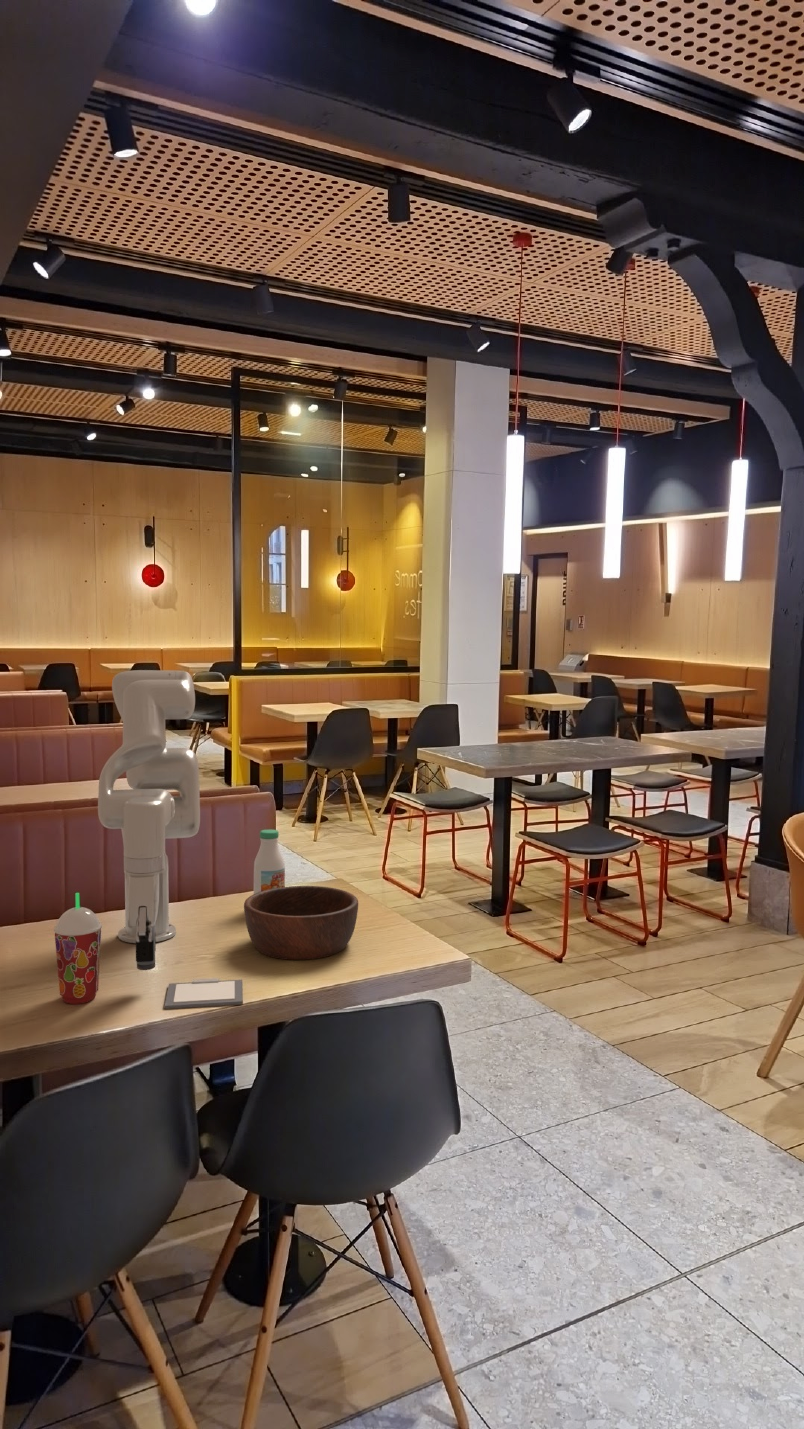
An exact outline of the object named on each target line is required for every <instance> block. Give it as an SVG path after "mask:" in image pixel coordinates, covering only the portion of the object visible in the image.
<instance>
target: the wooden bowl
mask: <svg viewBox="0 0 804 1429" xmlns="http://www.w3.org/2000/svg"><path fill="white" fill-rule="evenodd" d="M243 910H244V911H243V912H244V918H245V923H246V924H245V925H246V929H247V934H248V935H249V938H250V941H251V943H252V944H253V946H254V948H256V950H257V951H259V952H260V953H261V954H263V955H266V956H267V957H271V958H274V959H275V958H276V959H281V960H293V961H303V960H304V961H305V960H314V959H322V958H326V957H330V956H333V955H336V954H338V953H339V952H341V951H342V950H344V949H345V948H346V947H347V946H348V944H349V942H350V941H351V939H352V937H353V934H354V932H355V927H356V923H357V919H358V918H357V917H358V913H359V912H358V911H359V900H358V897H357V896H356V895H354V894H353V893H351V892H349V891H346V890H343V889H339V888H335V887H334V888H333V887H329V886H321V885H320V886H318V885H294V886H293V885H291V886H285V887H280V888H274V889H269V890H265V891H261V892H258V893H256V894H254V893H252V895H249V897H247V898H246V899H245V901H244V904H243Z"/></svg>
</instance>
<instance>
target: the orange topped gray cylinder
mask: <svg viewBox="0 0 804 1429" xmlns="http://www.w3.org/2000/svg"><path fill="white" fill-rule="evenodd" d="M146 924H149V922H146ZM146 931H148V932H149V929H146ZM152 940H154V960H153V961H150V962H137V961H136V969H138V970H140V971H149V970H152V969H154V968H155V967H156V951H155V925H154V926H153V927H152Z"/></svg>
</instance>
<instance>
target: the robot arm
mask: <svg viewBox="0 0 804 1429" xmlns="http://www.w3.org/2000/svg"><path fill="white" fill-rule="evenodd" d="M111 682H112V683H111V691H112V697H113V700H114V703H115V706H116V708H117V711H118V713H119V716H120V718H121V721H122V743H121V744H122V745H121V746H120V747H119V748H118V749H116V751H114V752H113V753H112V754H111V755H110V756H109V758H108V759H107V761H106V762H105V764H104V766H103V768H102V769H101V772H100V776H99V779H98V795H97V797H98V798H97V814H98V819H99V822H100V824H101V825H102V826H103V827H104V828H107V829H109V830H111V829H112V830H117V829H118V830H119V829H121V830H120V831H121V835H122V836H121V837H122V843H123V873H124V902H125V904H124V905H125V906H124V907H125V909H124V911H125V912H124V918H125V920H124V921H125V922H124V924H125V926H123V927H122V928H121V929H119V930H118V932H117V937H118V939H119V940H121V941H122V942H124V943H125V942H126V943H129V944H135V962H136V963H137V962H150V961H153V960H154V940H152V927H153V926H154V925H155V952H157V951H156V948H157V947H156V943H158V942H163V941H167V940H168V939H171V938H173V937H174V936H175V935H176V933H177V928H176V926H175V925H174V924H171V923H170V915H169V912H170V911H169V909H170V907H169V906H170V903H169V902H170V901H169V898H170V896H169V895H170V894H169V858H168V855H167V852H166V839H183V838H184V839H185V838H186V839H187V838H191V837H195V835H197V834H198V832H199V830H200V825H201V797H200V796H201V795H200V769H199V768H200V767H199V762H198V757H197V755H196V753H195V752H194V751H193V750H192V749H190V748H186V747H172V748H171V747H169V748H168V747H166V746H167V743H166V742H167V740H166V720H187V719H190V718H191V717H192V716H193V714H194V711H195V706H196V693H195V686H194V680H193V677H192V675H191V674H190V673H189V672H187V671H186V670H172V669H171V670H162V669H161V670H159V669H158V670H155V669H153V670H151V669H149V670H148V669H144V670H143V669H139V670H125V671H121V672H118V673H116V674H115V675H114V676H113V678H112V681H111ZM125 772H126V773H125ZM124 773H125V774H126V776H125V777H126V781H127V782H126V783H127V784H128V786H129V787H130V788H129V789H128V788H127V789H114V786H115V782H116V781H117V780H118V778H119V777H120V776H122V775H124ZM170 791H176V792H178V793H179V795H172V794H171V792H170ZM146 922H149V924H146ZM146 929H149V932H148V931H146Z"/></svg>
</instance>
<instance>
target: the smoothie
mask: <svg viewBox="0 0 804 1429" xmlns="http://www.w3.org/2000/svg"><path fill="white" fill-rule="evenodd" d="M102 926H103V925H102V922H100V920H99V918H98V916H97V915H96V914H95V912H93V911H92V910H91V909H90V908H88V907H83V906H80V892H76V893H75V907H72V908H69V909H67V910H66V911H65V912H63V913H62V915H60V917H59V918H58V921H57V922H56V924H55V926H54V927H53V932H54V941H55V942H54V943H55V953H56V965H57V976H58V977H57V978H58V987H59V988H58V989H59V995H60V996H61V998H62V1001H63V1002H64V1003H66V1004H69V1005H80V1004H86V1003H88V1002H90V1001H93V1000H94V999H95V998H96V996H97V994H96V993H98V991H99V986H100V985H99V983H100V980H99V979H100V962H101V961H100V960H101V959H100V958H101V942H102V940H101V939H102Z"/></svg>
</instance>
